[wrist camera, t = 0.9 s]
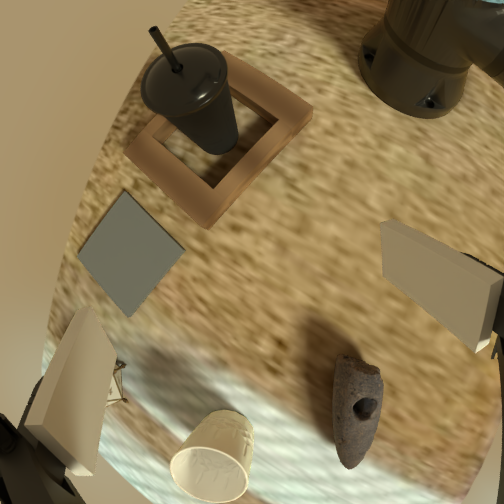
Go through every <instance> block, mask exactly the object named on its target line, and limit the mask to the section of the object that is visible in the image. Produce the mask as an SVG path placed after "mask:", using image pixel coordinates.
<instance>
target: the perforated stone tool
mask: <svg viewBox="0 0 504 504" xmlns="http://www.w3.org/2000/svg"><path fill="white" fill-rule="evenodd" d="M383 386H384V385H383V380H382V379H381V376H380V370H379V368H378V367H376V366H373V365H369V364H367V363H366V362H365V361H361V360H358V359H354V358H352V357H348V355H344V354H339V355H338V356H337V360H336V365H335V373H334V384H333V402H332V415H333V418H332V419H333V432H334V440H335V446H336V450H337V454H338V457H339V459H340V462H341V463H342V464H343V465H344V467H345V468H347V469H348V470H349V469H352V468H354V467H356V466H357V465H358V464H359V463H360V462H361V461H362V459H363V458H364V456H365V454H366V452H367V451H368V449H369V448H370V446H371V444H372V442H373V439H374V434H375V432H376V430H377V426H378V422H379V418H380V413H381V406H382V398H383Z"/></svg>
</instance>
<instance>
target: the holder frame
mask: <svg viewBox="0 0 504 504" xmlns="http://www.w3.org/2000/svg"><path fill="white" fill-rule="evenodd" d="M221 53H222V54H223V56H224V57H225V59H226V61H227V65H228V78H227V79H228V84H229V89H230V94H231V96H233V97H234V98H235V99H237V100H238V101H240V102H241V103H243V104H244V105H246V106H247V107H249V108H250V109H251V110H253V111H254V112H256V113H257V114H258V115H260V116H261V117H263V118H264V119H265V120H267V121H268V122H269V123H271V124H272V125H273V127H272V128H271V129H270V130H269V131H268V132H267V133H266V134H265V135H264V136H263V137H262V138H261V139H260V140H259V141H258V142H257V143H256V144H255V145H254V146H253V147H252V148H251V149H250V150H249V151H248V152H247V153H246V154H245V156H244V157H243V158H242V159H241V160H240V161H239V162H238V163H237V164H236V165H235V166H234V167H233V168H232V169H231V171H230V172H229V173H228V174H227V175H226V176H225V177H224V178H223V179H222V180H221V181H220V183H219V184H218V185H217V186H216V187H215V188H214V189H212V188H211V187H210V186H209V185H208V184H207V183H205V182H204V181H203V180H202V179H201V178H200V177H198V176H197V175H196V174H195V173H194V172H193V171H192V170H190V169H189V168H188V167H187V166H186V165H185V164H183V163H182V162H181V161H180V160H179V159H178V158H176V157H175V156H174V155H173V154H172V153H171V152H170V151H168V150H167V149H166V148H165V147H164V146H162V144H163V143H164V142H165V140H166V139H167V138H168V137H169V136H170V135H171V134H172V133H173V132H174V131H175V130H176V129H177V127H176V126H175V125H173V124H172V123H171V122H170V121H168V120H167V119H166V118H165V117H164V116H162V115H159V114H157V115H156V116H155V117H154V118H153V119H152V120H151V121H150V122H149V123H148V124H147V125H146V127H145V128H144V129H143V130H142V131H141V132H140V133H139V134H138V136H137V137H136V138H135V139H134V140H133V141H132V142H131V144H130V145H129V146H128V147H127V148H126V149H125V151H124V152H123V153H124V154H125V155H126V156H127V157H128V158H129V159H130V160H131V161H132V162H133V163H134V164H135V165H136V166H137V167H138V168H139V169H140V170H141V171H142V172H143V173H145V174H146V175H147V176H148V177H149V178H150V179H151V180H152V181H153V182H154V183H155V184H156V185H157V186H158V187H159V188H160V189H161V190H162V191H163V192H165V193H166V194H167V195H168V196H169V197H170V198H171V199H172V200H173V201H174V202H175V203H176V204H177V205H178V206H179V207H180V208H181V209H183V210H184V211H185V212H186V213H187V214H188V215H189V216H190V217H191V218H192V219H193V220H194V221H195V222H196V223H197V224H199V225H200V226H201V227H202V228H205V229H207V230H209V229H210V228H211V227H212V226H213V225H214V224H215V222H216V221H217V220H218V219H219V218H220V217H221V216H222V215H223V213H224V212H225V211H226V210H227V209H228V208H229V207H230V206H231V205H232V203H233V202H234V201H235V200H236V199H237V198H238V197H239V196H240V195H241V193H242V192H243V191H244V190H245V189H246V188H247V187H248V186H249V185H250V184H251V183H252V181H253V180H254V179H255V178H256V177H257V176H258V175H259V174H260V173H261V172H262V171H263V170H264V168H265V167H266V166H267V165H268V164H269V163H270V162H271V161H272V160H273V159H274V158H275V157H276V156H277V155H278V154H279V152H280V151H281V150H282V149H283V148H284V147H285V146H286V145H287V144H288V143H289V142H290V141H291V140H292V139H293V138H294V137H295V136H296V135H297V134H298V133H299V132H300V130H301V129H302V128H303V127H304V126H305V125H306V124H307V123H308V122H309V121H310V120H311V119H312V115H313V106H311V105H310V104H309V103H307V102H306V101H304V100H303V99H301V98H300V97H299V96H297V95H296V94H294V93H293V92H291V91H290V90H288V89H287V88H285V87H284V86H282V85H281V84H279V83H278V82H276V81H275V80H273V79H271V78H270V77H268V76H267V75H265V74H263V73H262V72H260V71H259V70H257V69H255V68H254V67H252V66H250V65H249V64H247V63H245V62H244V61H242V60H240V59H238V58H237V57H235V56H233V55H231V54H230V53H228V52H226V51H223V52H221Z"/></svg>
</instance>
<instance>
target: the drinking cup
mask: <svg viewBox="0 0 504 504" xmlns="http://www.w3.org/2000/svg"><path fill="white" fill-rule="evenodd" d="M149 33H150V35H151V36H152V38H153V39H154V41H155V42H156V44H157V45H158V47H159V49H160V50H161V52H162V53H163V54H161V55H160V56H159V57H158V58H156V59H155V60H154V61H153V62H152V63H151V65H150V66H149V67H148V69H147V70H146V72H145V74H144V76H143V79H142V82H141V96H142V99H143V101H144V103H145V104H146V106H147V107H148V108H149V109H150V110H151V111H153V112H154V113H156V114H159V115H162V116H164V117H165V118H166V119H167V120H168V121H170V122H171V123H172V124H173V125H175V126H176V127H177V128H178V129H179V130H181V131H182V132H183V133H184V134H185V135H187V136H188V137H189V138H190V139H191V140H193V141H194V142H195V143H196V144H197V145H199V146H200V147H201V148H202V149H203V150H204V151H206V152H207V153H209V154H213V155H220V154H224V153H226V152H228V151H230V150H231V149H232V148H233V147H234V146H235V144H236V143H237V140H238V129H237V124H236V119H235V114H234V109H233V104H232V99H231V94H230V89H229V84H228V79H227V78H228V65H227V61H226V59H225V57H224V56H223V54H222V53H221V52H220V51H219V50H218V49H216V48H214V47H212V46H210V45H207V44H202V43H188V44H183V45H179V46H176V47H174V48H172V49H171V48H170V47H169V45H168V43H167V42H166V40H165V38H164V37H163V35H162V34H161V32H160V30H159V29H158V27H157V26H153V27H151V28H150V29H149Z"/></svg>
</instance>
